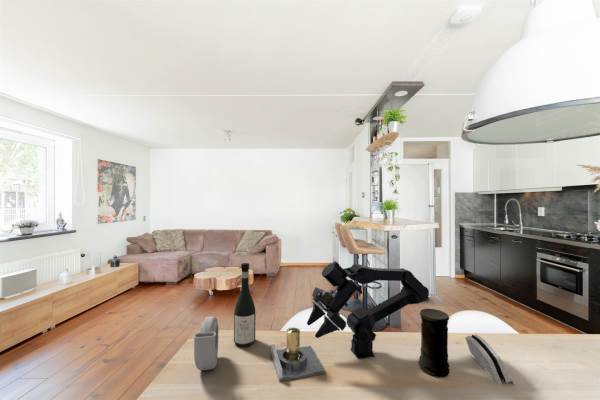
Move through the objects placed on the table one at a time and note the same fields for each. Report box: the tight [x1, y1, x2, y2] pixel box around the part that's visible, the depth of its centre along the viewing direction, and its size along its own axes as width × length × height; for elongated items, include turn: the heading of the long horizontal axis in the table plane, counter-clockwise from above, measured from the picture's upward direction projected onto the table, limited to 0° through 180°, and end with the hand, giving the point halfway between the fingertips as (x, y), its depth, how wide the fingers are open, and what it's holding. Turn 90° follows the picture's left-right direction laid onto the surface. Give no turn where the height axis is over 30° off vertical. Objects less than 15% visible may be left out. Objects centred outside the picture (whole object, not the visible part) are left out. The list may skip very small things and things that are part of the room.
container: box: [418, 308, 450, 379], centre depth 88 cm, size 9×9×18 cm
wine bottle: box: [233, 262, 256, 348], centre depth 104 cm, size 8×8×30 cm
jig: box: [270, 343, 326, 382], centre depth 91 cm, size 14×15×3 cm
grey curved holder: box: [192, 316, 219, 371], centre depth 89 cm, size 17×6×15 cm, turn 9°
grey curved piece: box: [465, 334, 516, 386], centre depth 89 cm, size 17×5×10 cm, turn 173°
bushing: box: [286, 327, 301, 361], centre depth 91 cm, size 4×4×10 cm
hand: (311, 330), depth 92 cm, fingers open, 9 cm apart
